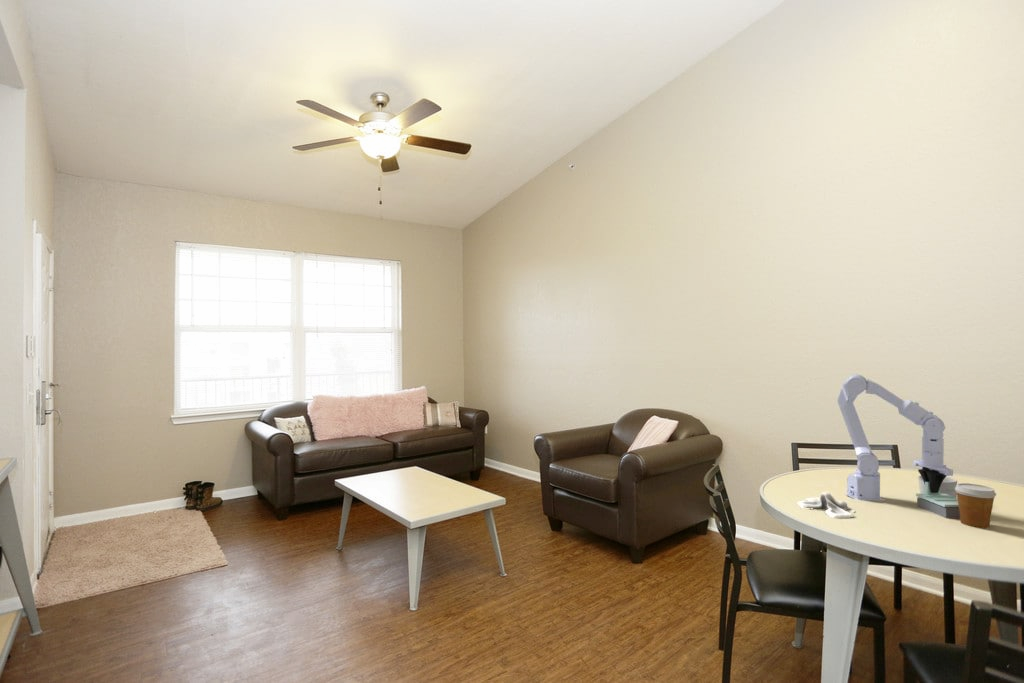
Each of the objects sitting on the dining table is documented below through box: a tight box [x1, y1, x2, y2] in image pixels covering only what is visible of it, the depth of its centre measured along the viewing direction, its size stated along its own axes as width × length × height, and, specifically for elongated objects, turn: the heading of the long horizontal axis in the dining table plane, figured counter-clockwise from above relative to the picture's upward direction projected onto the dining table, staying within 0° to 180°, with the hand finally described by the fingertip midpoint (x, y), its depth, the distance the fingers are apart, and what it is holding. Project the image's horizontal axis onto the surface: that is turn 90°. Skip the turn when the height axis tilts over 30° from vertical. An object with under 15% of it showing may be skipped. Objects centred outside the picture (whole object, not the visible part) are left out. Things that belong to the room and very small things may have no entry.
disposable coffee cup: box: [955, 482, 997, 529], centre depth 161 cm, size 10×10×12 cm
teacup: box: [917, 475, 958, 498], centre depth 188 cm, size 14×11×8 cm
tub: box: [916, 496, 960, 519], centre depth 173 cm, size 12×10×4 cm
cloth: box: [796, 491, 857, 519], centre depth 178 cm, size 22×19×6 cm
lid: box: [915, 482, 959, 507], centre depth 173 cm, size 12×10×5 cm
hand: (932, 491), depth 178 cm, fingers closed on lid
